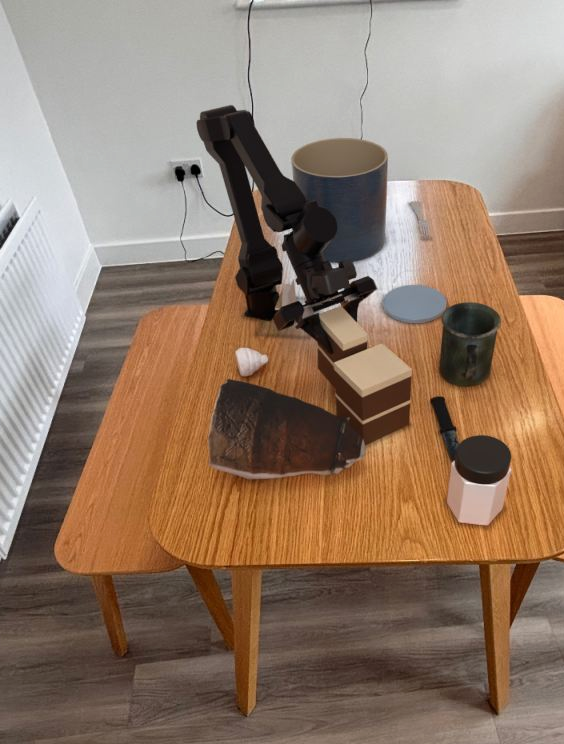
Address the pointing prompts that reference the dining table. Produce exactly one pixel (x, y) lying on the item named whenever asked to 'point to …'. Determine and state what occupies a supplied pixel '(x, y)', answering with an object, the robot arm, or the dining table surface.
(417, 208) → the fork
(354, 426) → the cake
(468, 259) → the dining table surface
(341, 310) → the cake slice
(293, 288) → the napkin holder
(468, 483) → the jar
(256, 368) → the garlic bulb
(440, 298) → the plate
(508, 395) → the dining table surface
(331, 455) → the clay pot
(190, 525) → the dining table surface
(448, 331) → the mug
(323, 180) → the planter
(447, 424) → the knife
